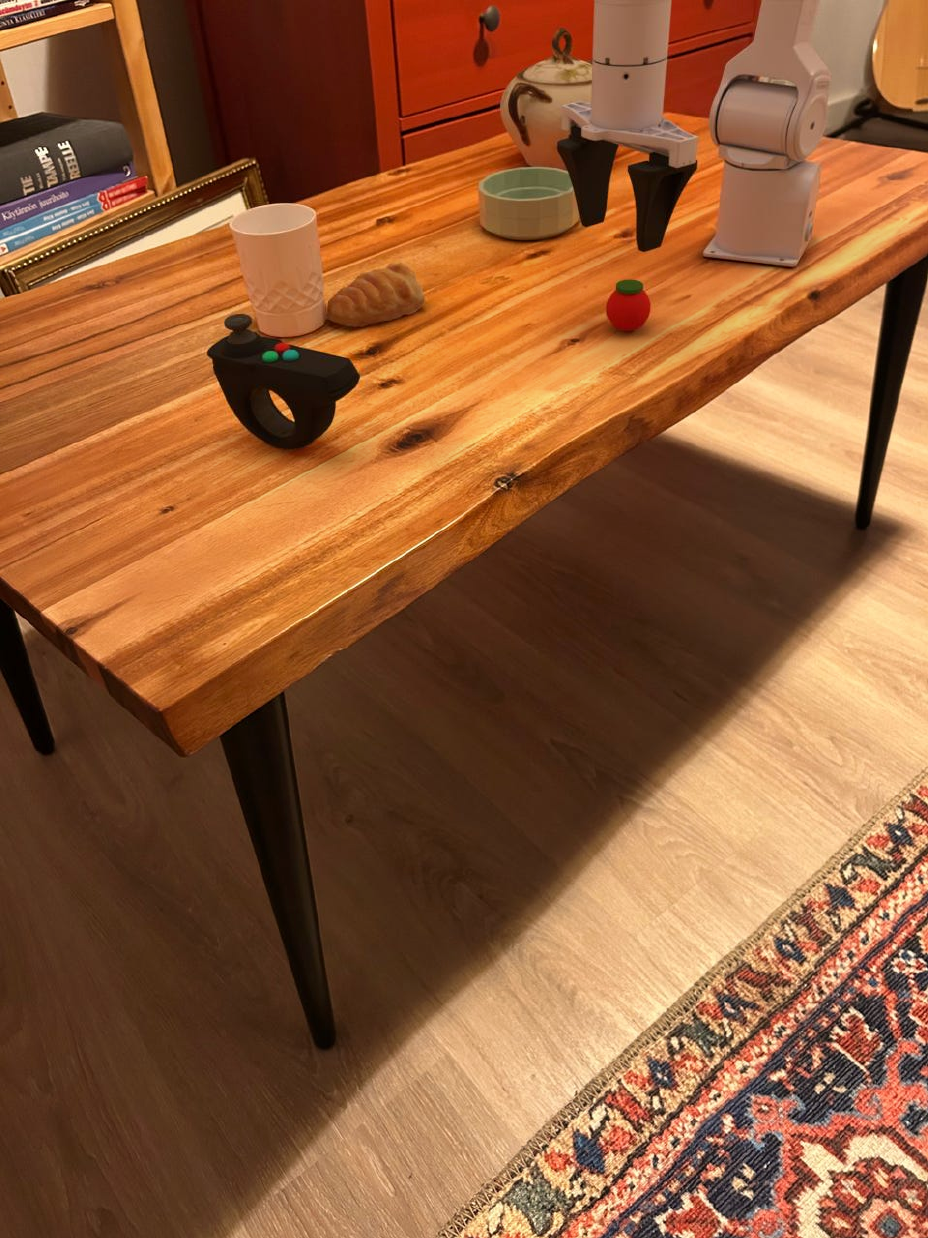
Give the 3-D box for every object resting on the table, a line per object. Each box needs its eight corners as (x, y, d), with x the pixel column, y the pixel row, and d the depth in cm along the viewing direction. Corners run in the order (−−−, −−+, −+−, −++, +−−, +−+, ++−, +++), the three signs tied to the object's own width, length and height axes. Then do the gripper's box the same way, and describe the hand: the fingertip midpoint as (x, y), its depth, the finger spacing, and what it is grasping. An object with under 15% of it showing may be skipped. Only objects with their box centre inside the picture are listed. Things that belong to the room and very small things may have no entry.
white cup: (345, 309, 96) (330, 205, 89) (311, 344, 90) (292, 236, 84) (275, 302, 98) (255, 200, 92) (237, 336, 93) (213, 231, 86)
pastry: (352, 339, 91) (346, 299, 88) (314, 318, 95) (307, 280, 92) (431, 308, 95) (427, 269, 92) (391, 289, 99) (387, 251, 97)
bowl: (592, 211, 112) (594, 171, 109) (557, 247, 105) (557, 204, 102) (504, 202, 116) (503, 163, 113) (464, 236, 109) (461, 194, 106)
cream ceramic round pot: (559, 133, 136) (560, 8, 126) (649, 149, 128) (658, 18, 118) (467, 172, 125) (460, 40, 115) (559, 193, 117) (560, 53, 107)
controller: (253, 416, 81) (226, 301, 74) (377, 447, 76) (360, 327, 70) (220, 441, 78) (190, 324, 72) (346, 475, 73) (326, 353, 67)
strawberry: (654, 322, 90) (658, 278, 87) (641, 341, 87) (644, 296, 84) (613, 316, 91) (615, 273, 88) (599, 335, 89) (600, 290, 86)
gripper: (532, 52, 78) (533, 223, 87) (652, 83, 68) (639, 272, 77) (601, 37, 81) (595, 205, 90) (726, 65, 71) (705, 250, 80)
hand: (620, 235), depth 84 cm, fingers open, 7 cm apart
